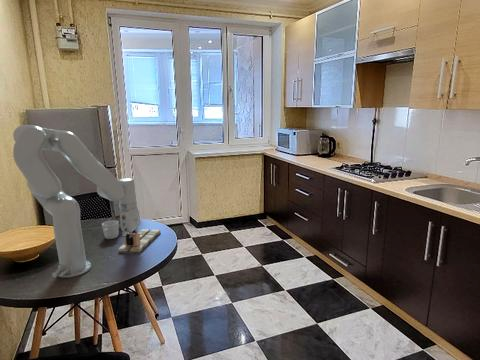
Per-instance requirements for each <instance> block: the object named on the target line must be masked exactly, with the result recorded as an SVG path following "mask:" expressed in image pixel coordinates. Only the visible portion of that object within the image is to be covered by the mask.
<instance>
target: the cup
mask: <svg viewBox="0 0 480 360" xmlns="http://www.w3.org/2000/svg"><path fill="white" fill-rule="evenodd" d="M101 227H102V232H103V235H104V238H105V239H106V240H114V239H116V238H118V236H119V234H120V233H119V232H120V231H119V229H120V228H119V222H118V221H116V220H106V221H104V222H101Z"/></svg>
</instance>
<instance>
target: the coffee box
mask: <svg viewBox="0 0 480 360" xmlns="http://www.w3.org/2000/svg"><path fill="white" fill-rule="evenodd" d="M109 205H110V212H111V219H112V220H116V221H118V222H119V229H121V223H120V207H119V201H111V200H109Z"/></svg>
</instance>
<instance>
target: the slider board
mask: <svg viewBox="0 0 480 360" xmlns="http://www.w3.org/2000/svg"><path fill="white" fill-rule="evenodd" d="M138 233H139V235H140V244H139V245H138V246H133V247H132V246H125V243H123V244H122V245H121V246H120V247H118V248H117V249H118V253H119V254H137V255H138V254H141V253H142V252H143V250H145V249H146V248H147V247H148V246H149V245H150V244H151V243H152V242H153V241H154V240H155V239H156V238H157V237H159V235H160V234H161V229H154V228H153V229H151V230H150V229H149V228H142V229H140V230H139V231H138Z"/></svg>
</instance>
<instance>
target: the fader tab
mask: <svg viewBox="0 0 480 360" xmlns="http://www.w3.org/2000/svg"><path fill="white" fill-rule="evenodd" d="M127 233H128V234H129V232H127ZM132 237H133V243H134V245H133V246H138V245H139V244H140V235H139V233H132ZM123 244H125V246H129V245H127V243H126V238H125V236H123ZM133 246H132V247H133Z"/></svg>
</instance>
